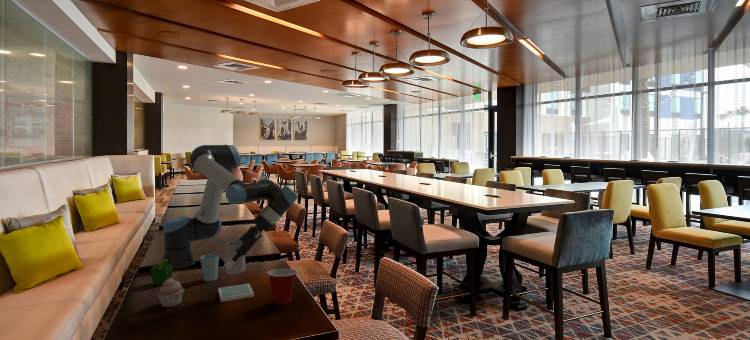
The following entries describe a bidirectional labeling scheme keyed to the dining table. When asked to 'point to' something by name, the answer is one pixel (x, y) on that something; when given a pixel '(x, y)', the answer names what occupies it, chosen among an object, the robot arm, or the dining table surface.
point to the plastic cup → (282, 285)
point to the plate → (235, 292)
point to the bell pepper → (161, 272)
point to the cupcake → (170, 293)
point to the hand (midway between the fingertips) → (225, 264)
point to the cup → (209, 266)
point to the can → (229, 251)
